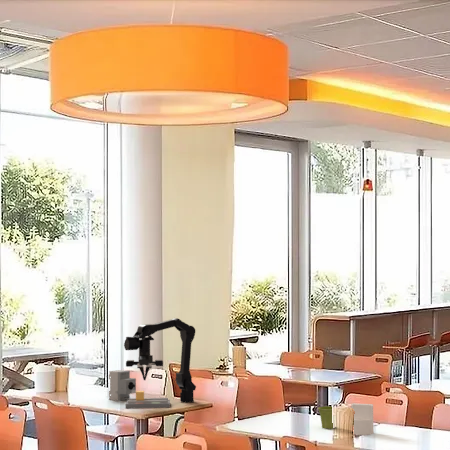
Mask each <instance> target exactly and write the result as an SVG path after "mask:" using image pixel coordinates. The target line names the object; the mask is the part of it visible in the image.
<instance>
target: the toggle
mask: <svg viewBox="0 0 450 450" xmlns="http://www.w3.org/2000/svg"><path fill="white" fill-rule="evenodd" d="M135 398H136V400H144V398H145V390H136V393H135Z"/></svg>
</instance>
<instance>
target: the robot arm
mask: <svg viewBox="0 0 450 450" xmlns="http://www.w3.org/2000/svg"><path fill="white" fill-rule="evenodd" d="M170 328H175V329H176V331H177V330H178V332H179V335H180V340H181V355H180V368H179V372H175V379H174V381H175V383H176V385H177V386H178V388H179V390H180V391H181V392H180V396H179V399H180V400H179V401H180V402H181V403H194V401H195V400H194V391H196V390H197V389H196V388H197V386H196V385H195V384H194V382H193V380H192V374H191V371H190V369H191V368H190V367H191V365H190V364H191V352H192V342H193V340H194V339H195V335H196V328H195V327H194V326H193V325H190V324H187V323H186V322H184V321H183V320H181V319H180V318H175V317H174V318H172V319H168V320H164V321H160V322H156V323H147V324H145V323H144V324H139V325H138V326H137V330H136V332H135V333H134V334H133V336H126V337H125V340H124V343H123V346H124V350H125V351H137V350H138V361H135V360H134V359H127V360H126V361H125V367H127V368H128V367H129V368H130V367H133V366H137V369H139V371H140V372H141V376H142V378H143V381H146V379H147V378H148V377H147V376H148V373H149V371H150V369H152V368H153V366H156V367H163V366H164V360H163V359H155V361H154V359H153V355H151V341H154V340H155V338H154V337H152V335H154V334H155V333H156V332H159V331H163V330H167V329H170ZM144 366H145V368H144Z"/></svg>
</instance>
